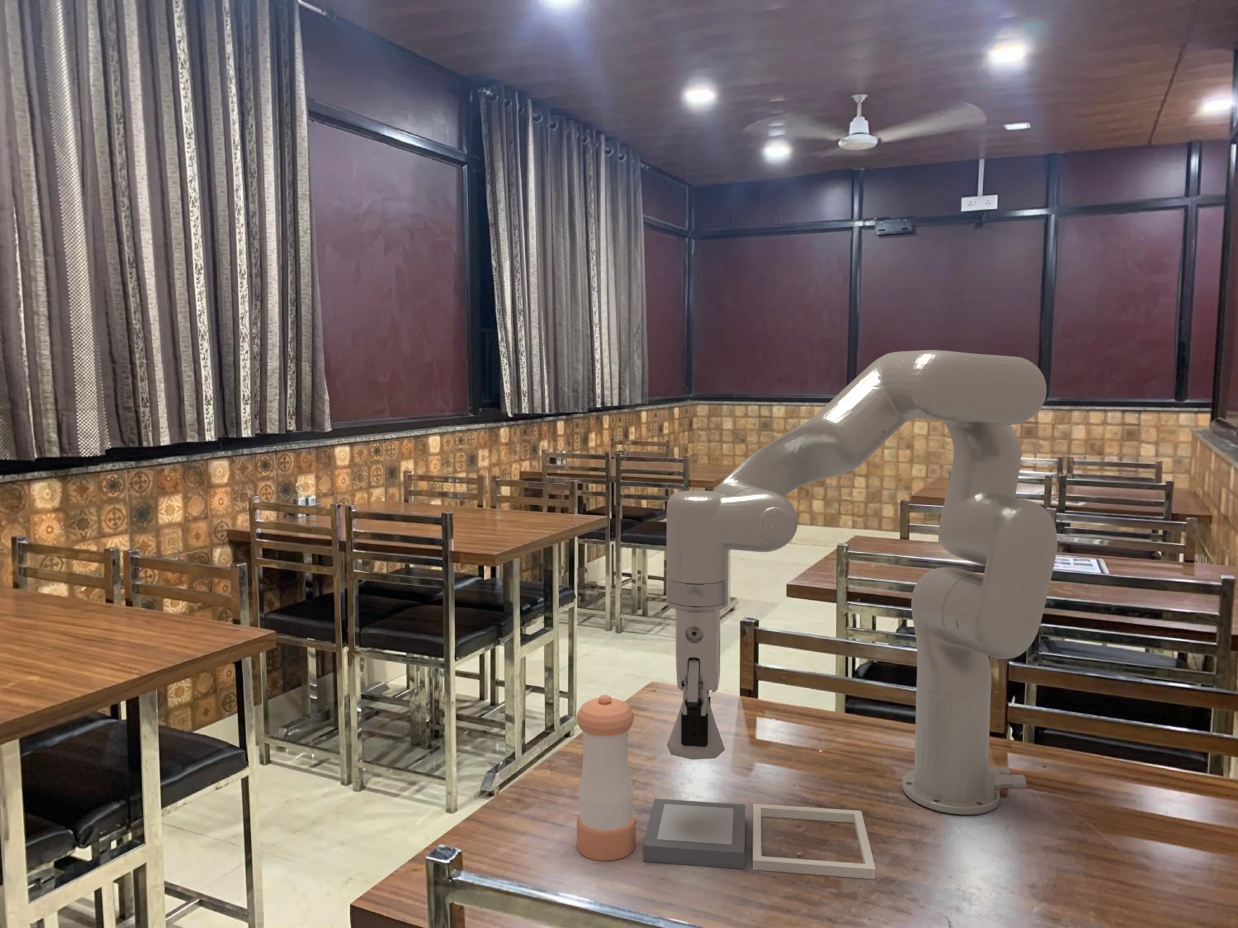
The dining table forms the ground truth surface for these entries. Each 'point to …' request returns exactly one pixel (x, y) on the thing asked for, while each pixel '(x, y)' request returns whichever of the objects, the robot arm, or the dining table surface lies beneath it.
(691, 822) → the slate pad
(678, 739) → the flask
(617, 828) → the salt shaker
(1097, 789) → the dining table surface
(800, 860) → the tray frame
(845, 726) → the dining table surface
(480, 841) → the dining table surface
